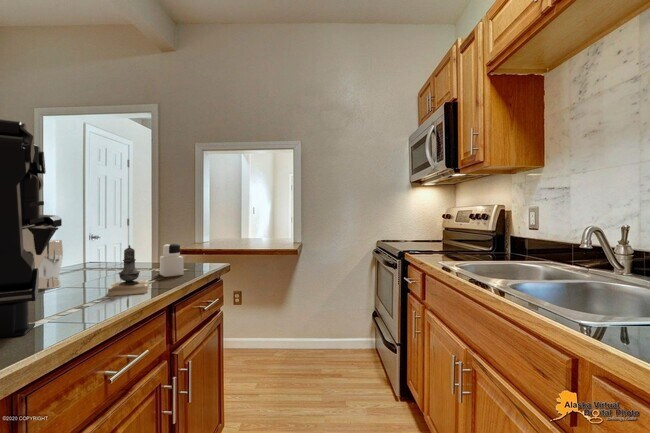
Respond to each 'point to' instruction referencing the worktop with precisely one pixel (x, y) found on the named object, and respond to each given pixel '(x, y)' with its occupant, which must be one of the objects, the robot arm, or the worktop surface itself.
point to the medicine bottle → (171, 261)
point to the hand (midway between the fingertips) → (25, 259)
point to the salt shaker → (129, 268)
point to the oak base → (128, 288)
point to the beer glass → (50, 265)
